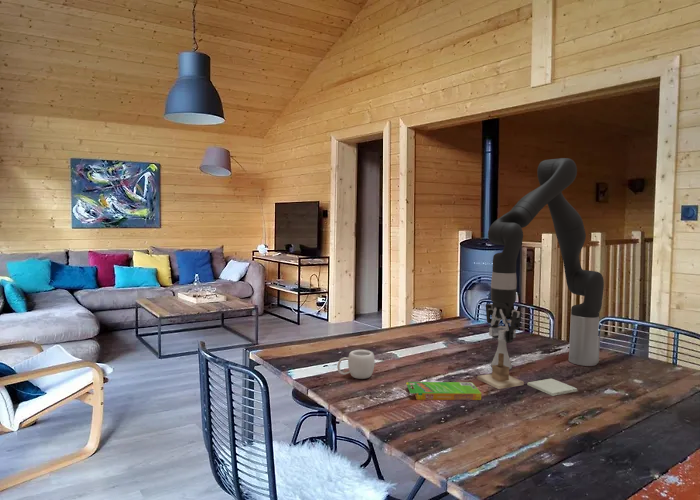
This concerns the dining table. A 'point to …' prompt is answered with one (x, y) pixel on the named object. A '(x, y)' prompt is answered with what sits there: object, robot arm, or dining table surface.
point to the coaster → (552, 387)
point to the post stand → (500, 376)
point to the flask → (503, 349)
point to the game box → (444, 390)
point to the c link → (500, 332)
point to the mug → (359, 364)
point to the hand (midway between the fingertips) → (502, 339)
